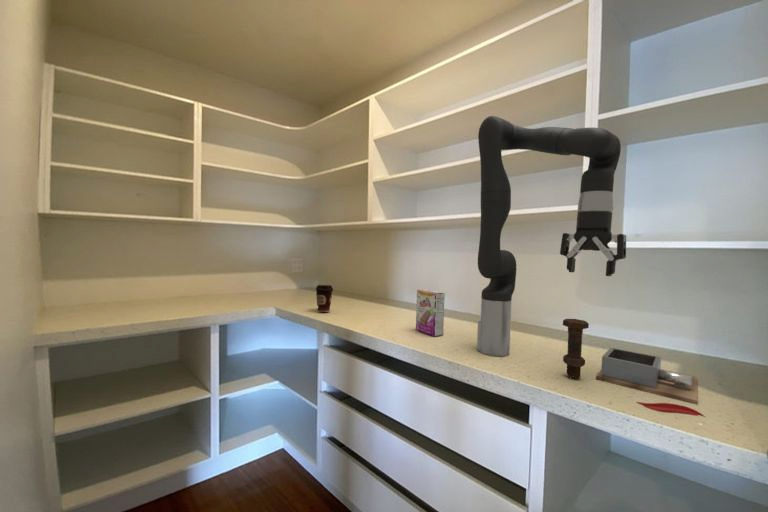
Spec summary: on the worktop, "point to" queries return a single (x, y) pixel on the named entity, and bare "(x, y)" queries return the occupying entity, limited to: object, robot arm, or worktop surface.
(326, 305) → the coffee cup
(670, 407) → the cayenne pepper
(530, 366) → the worktop surface
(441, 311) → the candy bar box
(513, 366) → the worktop surface
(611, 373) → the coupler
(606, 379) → the base
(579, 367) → the bolt
